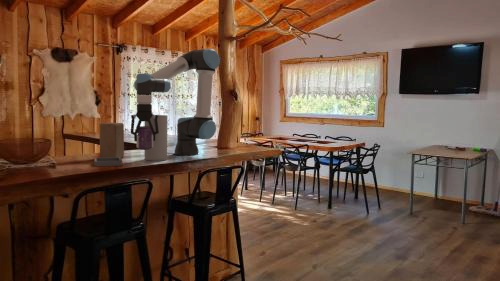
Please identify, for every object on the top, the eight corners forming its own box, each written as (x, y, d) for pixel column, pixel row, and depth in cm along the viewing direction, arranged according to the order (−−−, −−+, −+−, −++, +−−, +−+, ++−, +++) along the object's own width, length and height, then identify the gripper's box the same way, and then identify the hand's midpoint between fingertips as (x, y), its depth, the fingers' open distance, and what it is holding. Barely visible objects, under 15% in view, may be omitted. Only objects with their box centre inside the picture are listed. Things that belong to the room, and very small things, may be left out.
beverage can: (140, 148, 216) (139, 126, 214) (153, 148, 215) (153, 126, 214) (136, 150, 209) (135, 127, 207) (149, 150, 208) (149, 127, 207)
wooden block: (115, 159, 222) (115, 123, 220) (99, 159, 224) (98, 123, 222) (124, 157, 232) (124, 123, 230) (108, 156, 234) (108, 122, 232)
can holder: (120, 161, 216) (120, 157, 216) (122, 165, 204) (122, 160, 204) (94, 162, 211) (94, 157, 211) (94, 166, 199) (94, 161, 199)
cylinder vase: (152, 162, 219) (152, 116, 216) (140, 159, 227) (140, 115, 224) (171, 159, 228) (171, 115, 225) (158, 157, 236) (158, 114, 234)
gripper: (162, 103, 216) (162, 145, 219) (123, 103, 209) (124, 147, 212) (164, 103, 209) (165, 147, 212) (125, 103, 202) (126, 148, 205)
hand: (145, 147), depth 212 cm, fingers closed on beverage can, 7 cm apart
